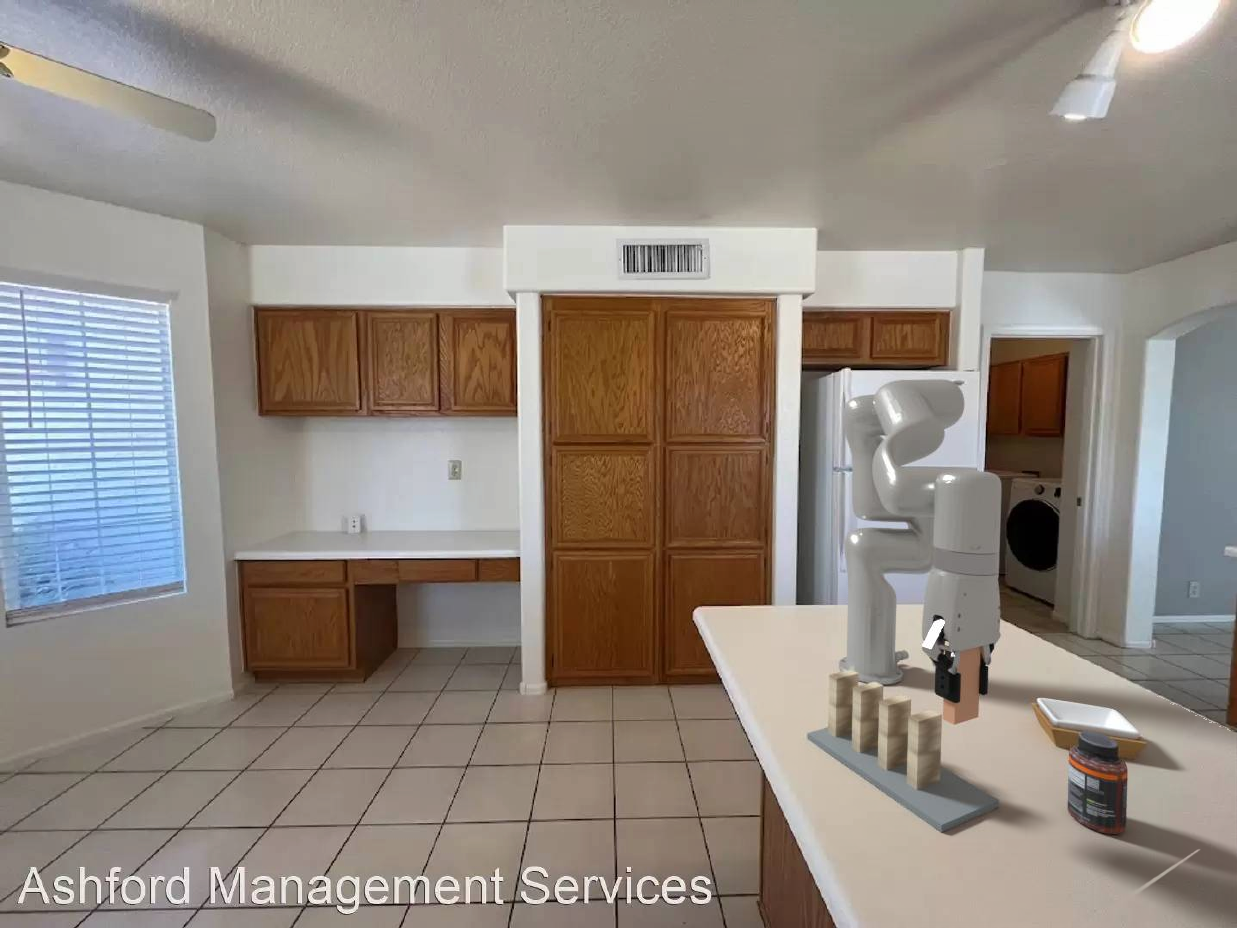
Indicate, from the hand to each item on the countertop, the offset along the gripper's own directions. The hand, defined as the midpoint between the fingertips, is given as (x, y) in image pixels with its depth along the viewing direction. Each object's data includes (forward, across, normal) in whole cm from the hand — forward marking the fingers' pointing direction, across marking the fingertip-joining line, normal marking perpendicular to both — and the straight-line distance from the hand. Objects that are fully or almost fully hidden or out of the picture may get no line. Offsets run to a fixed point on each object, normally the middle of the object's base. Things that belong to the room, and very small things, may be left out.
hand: (961, 693), depth 74 cm
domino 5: (+3, 0, 0) cm, 3 cm away
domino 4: (+16, 0, -5) cm, 16 cm away
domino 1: (+15, 0, -20) cm, 25 cm away
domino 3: (+16, 0, -10) cm, 19 cm away
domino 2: (+15, 0, -15) cm, 22 cm away
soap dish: (+17, -37, -3) cm, 40 cm away
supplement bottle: (+17, -15, +9) cm, 24 cm away
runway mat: (+17, 0, -10) cm, 19 cm away
